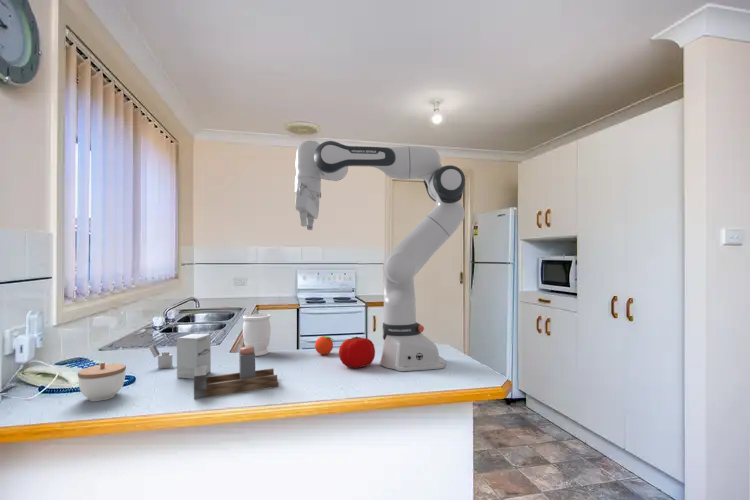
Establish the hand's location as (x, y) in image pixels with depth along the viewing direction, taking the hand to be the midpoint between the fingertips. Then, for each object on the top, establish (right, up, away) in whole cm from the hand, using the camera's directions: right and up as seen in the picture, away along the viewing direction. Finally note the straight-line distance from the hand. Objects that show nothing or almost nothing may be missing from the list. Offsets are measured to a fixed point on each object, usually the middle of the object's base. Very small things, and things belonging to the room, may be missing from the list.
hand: (306, 228), depth 132 cm
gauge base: (-17, -47, -20) cm, 54 cm away
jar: (-23, -48, +18) cm, 56 cm away
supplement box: (-35, -48, -8) cm, 60 cm away
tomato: (+17, -47, 0) cm, 50 cm away
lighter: (-51, -48, +1) cm, 70 cm away
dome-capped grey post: (-14, -46, -19) cm, 51 cm away
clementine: (+4, -48, +16) cm, 50 cm away
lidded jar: (-51, -48, -27) cm, 75 cm away
